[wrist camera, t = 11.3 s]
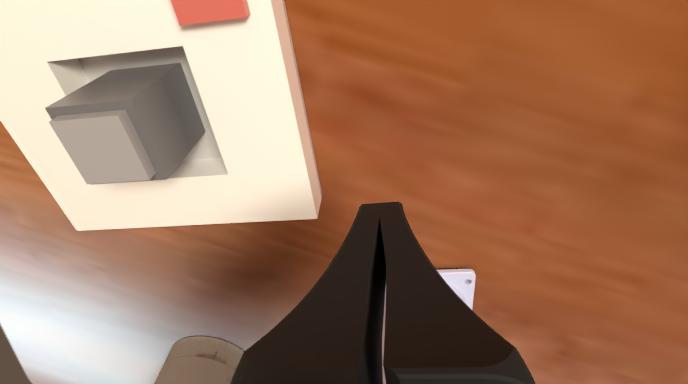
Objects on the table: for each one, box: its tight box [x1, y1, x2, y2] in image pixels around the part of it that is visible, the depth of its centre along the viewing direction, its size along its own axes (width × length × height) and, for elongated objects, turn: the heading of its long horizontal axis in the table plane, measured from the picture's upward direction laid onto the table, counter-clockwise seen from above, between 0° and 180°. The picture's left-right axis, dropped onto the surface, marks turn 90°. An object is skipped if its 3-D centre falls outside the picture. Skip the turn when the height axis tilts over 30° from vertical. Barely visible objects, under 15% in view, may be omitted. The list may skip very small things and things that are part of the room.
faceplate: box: [0, 0, 322, 231], centre depth 21 cm, size 14×16×3 cm
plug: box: [45, 63, 206, 185], centre depth 19 cm, size 4×4×6 cm
